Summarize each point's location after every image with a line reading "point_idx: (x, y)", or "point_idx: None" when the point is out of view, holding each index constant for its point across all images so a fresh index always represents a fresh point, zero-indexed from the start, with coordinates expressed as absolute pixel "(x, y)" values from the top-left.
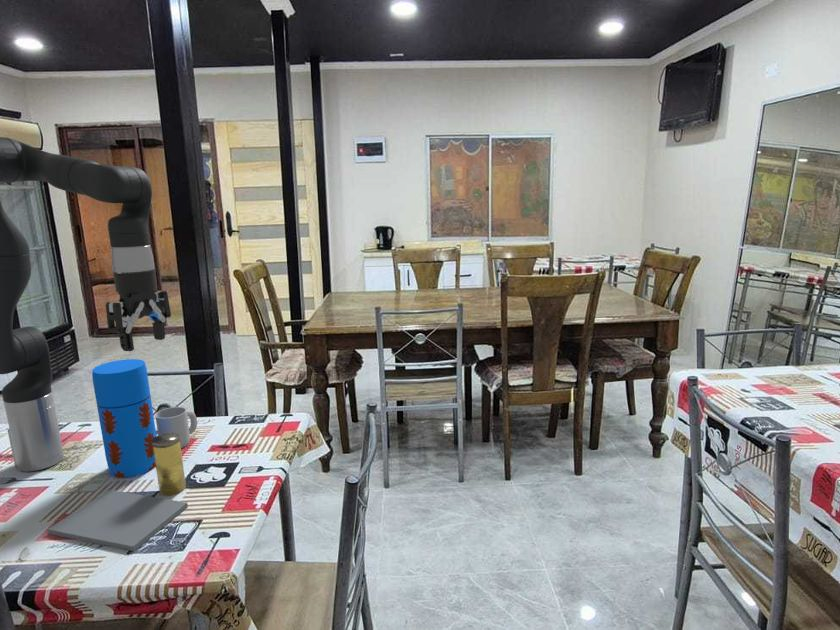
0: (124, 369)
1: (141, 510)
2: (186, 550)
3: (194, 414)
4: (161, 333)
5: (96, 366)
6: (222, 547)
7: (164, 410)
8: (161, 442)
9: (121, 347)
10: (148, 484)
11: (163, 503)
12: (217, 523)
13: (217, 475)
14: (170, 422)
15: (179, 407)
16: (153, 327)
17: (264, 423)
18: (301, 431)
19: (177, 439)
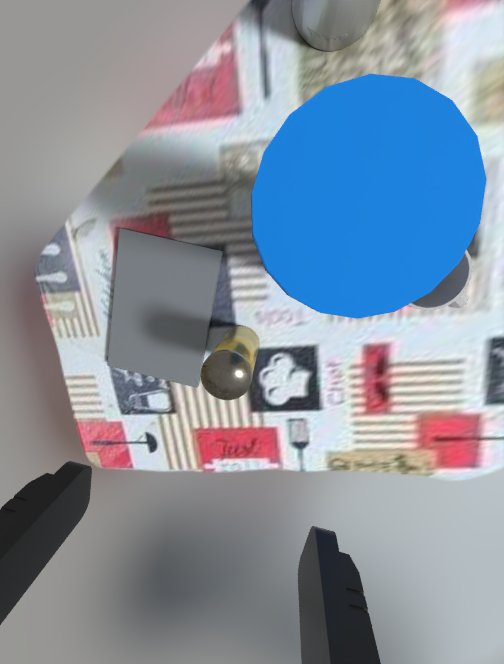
0: (309, 268)
1: (174, 335)
2: (122, 417)
3: (459, 307)
4: (301, 611)
5: (368, 75)
6: (132, 451)
7: None
8: (207, 377)
9: (36, 479)
10: (252, 298)
11: (192, 357)
12: (170, 432)
13: (280, 392)
14: None
15: (467, 279)
16: (322, 618)
17: (479, 407)
18: (430, 476)
19: (224, 399)
